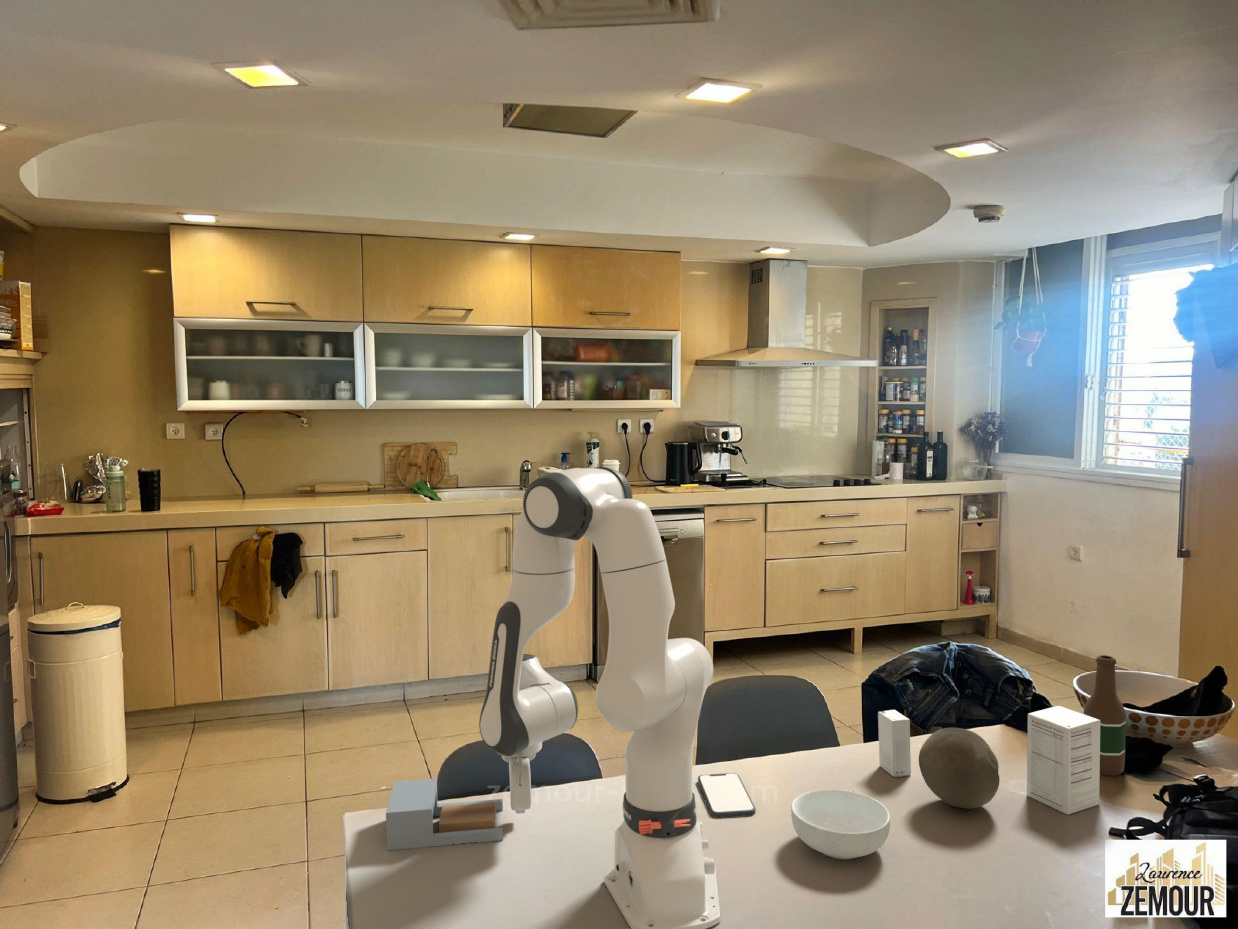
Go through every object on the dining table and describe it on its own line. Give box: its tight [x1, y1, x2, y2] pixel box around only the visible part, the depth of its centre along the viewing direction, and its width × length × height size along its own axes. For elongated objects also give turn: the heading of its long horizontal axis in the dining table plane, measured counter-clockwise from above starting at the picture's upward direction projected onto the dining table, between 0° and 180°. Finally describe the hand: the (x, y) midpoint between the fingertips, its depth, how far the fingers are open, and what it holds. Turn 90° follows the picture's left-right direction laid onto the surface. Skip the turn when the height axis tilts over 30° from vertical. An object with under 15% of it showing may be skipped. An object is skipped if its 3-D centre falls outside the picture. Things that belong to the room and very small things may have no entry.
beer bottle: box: [1083, 655, 1127, 777], centre depth 180 cm, size 8×8×24 cm
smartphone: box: [697, 772, 756, 819], centre depth 172 cm, size 9×2×16 cm
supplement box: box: [1026, 705, 1101, 816], centre depth 167 cm, size 10×9×17 cm
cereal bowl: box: [790, 788, 891, 860], centre depth 152 cm, size 17×17×7 cm
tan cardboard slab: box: [438, 803, 497, 833], centre depth 162 cm, size 7×10×3 cm
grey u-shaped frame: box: [385, 777, 504, 851], centre depth 161 cm, size 12×20×7 cm, turn 98°
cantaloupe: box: [918, 727, 1000, 810], centre depth 165 cm, size 14×14×15 cm
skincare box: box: [877, 709, 912, 778], centre depth 181 cm, size 6×4×12 cm
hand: (520, 810), depth 163 cm, fingers closed
